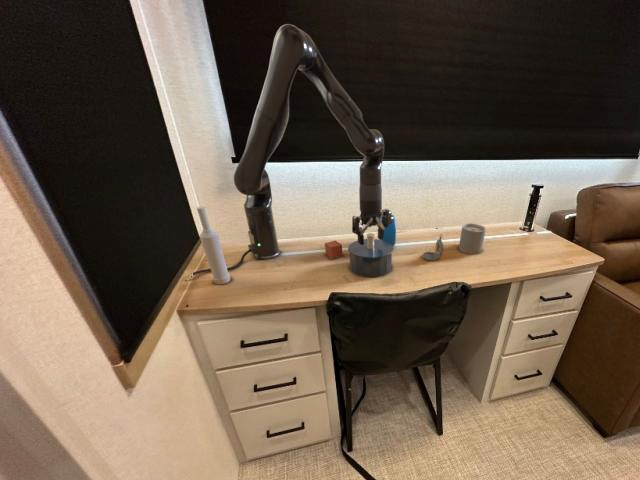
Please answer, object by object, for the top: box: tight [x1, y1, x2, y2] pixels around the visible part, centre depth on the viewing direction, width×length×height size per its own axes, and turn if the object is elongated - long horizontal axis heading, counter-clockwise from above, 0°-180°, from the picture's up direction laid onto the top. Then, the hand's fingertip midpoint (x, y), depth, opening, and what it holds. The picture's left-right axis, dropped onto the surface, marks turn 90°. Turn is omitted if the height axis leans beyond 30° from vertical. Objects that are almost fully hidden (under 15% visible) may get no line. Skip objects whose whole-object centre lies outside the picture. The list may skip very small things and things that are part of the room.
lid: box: [347, 232, 394, 259], centre depth 115 cm, size 17×17×6 cm
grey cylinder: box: [458, 223, 487, 255], centre depth 138 cm, size 13×10×10 cm
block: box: [324, 240, 343, 260], centre depth 126 cm, size 5×5×5 cm
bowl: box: [348, 251, 393, 278], centre depth 118 cm, size 16×16×8 cm
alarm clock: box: [378, 208, 397, 247], centre depth 134 cm, size 13×6×15 cm, turn 9°
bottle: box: [196, 206, 231, 285], centre depth 100 cm, size 5×5×25 cm
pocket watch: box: [422, 233, 444, 261], centre depth 127 cm, size 8×8×10 cm
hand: (371, 241), depth 115 cm, fingers open, 8 cm apart
